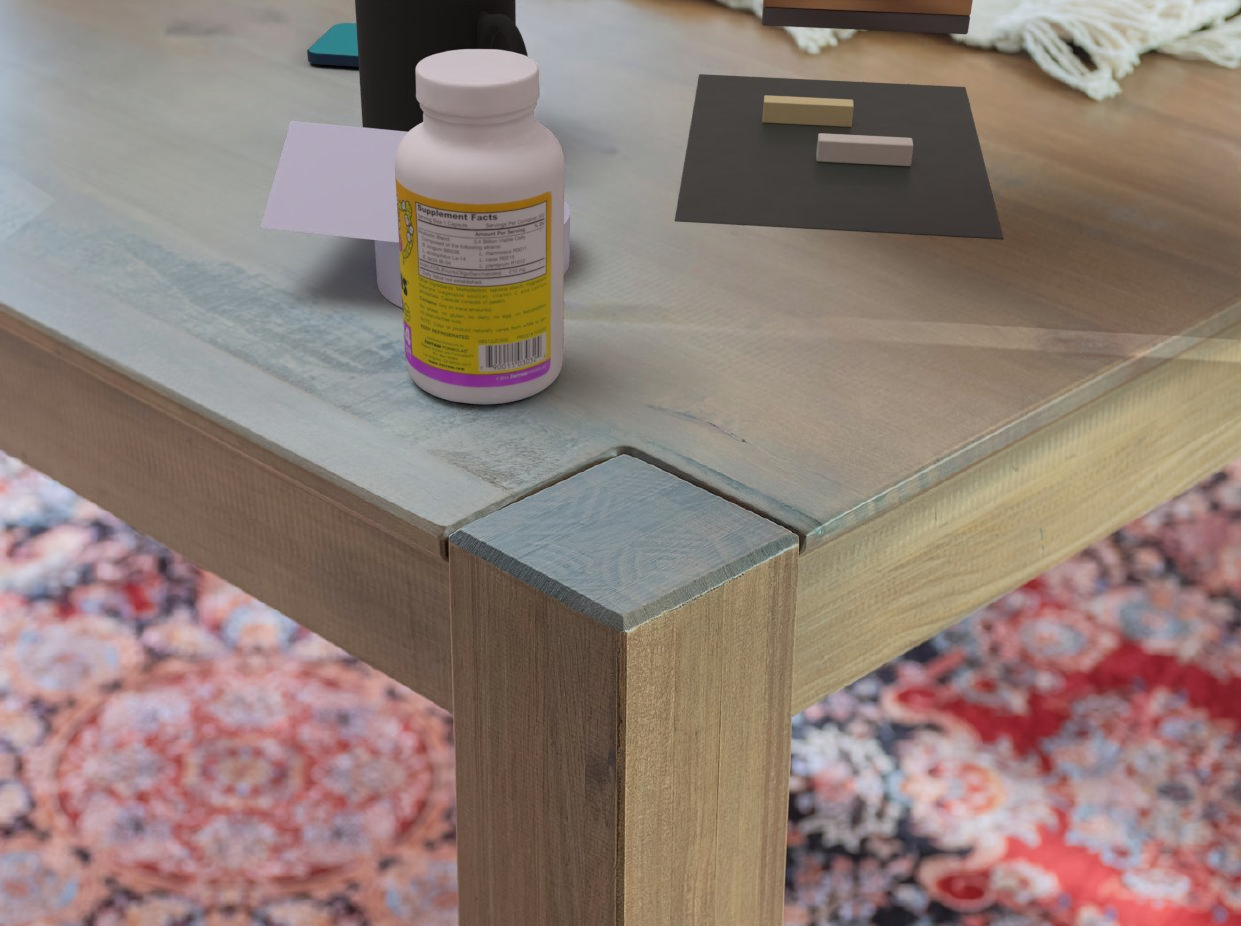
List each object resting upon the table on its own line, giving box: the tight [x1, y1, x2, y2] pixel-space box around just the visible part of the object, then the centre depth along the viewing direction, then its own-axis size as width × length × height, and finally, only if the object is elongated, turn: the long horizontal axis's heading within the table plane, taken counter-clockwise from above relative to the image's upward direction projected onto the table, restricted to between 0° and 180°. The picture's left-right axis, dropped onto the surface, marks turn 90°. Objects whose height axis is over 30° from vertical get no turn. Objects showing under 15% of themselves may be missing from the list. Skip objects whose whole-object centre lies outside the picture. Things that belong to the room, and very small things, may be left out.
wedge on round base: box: [259, 120, 571, 309], centre depth 77 cm, size 9×7×13 cm
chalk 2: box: [816, 133, 913, 167], centre depth 90 cm, size 5×1×1 cm, turn 84°
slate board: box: [674, 73, 1004, 240], centre depth 92 cm, size 16×24×1 cm, turn 174°
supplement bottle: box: [395, 49, 565, 405], centre depth 67 cm, size 7×7×13 cm
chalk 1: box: [762, 95, 854, 127], centre depth 95 cm, size 5×1×1 cm, turn 84°
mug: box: [354, 0, 529, 132], centre depth 88 cm, size 8×12×10 cm
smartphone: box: [306, 22, 359, 68], centre depth 107 cm, size 7×1×15 cm
